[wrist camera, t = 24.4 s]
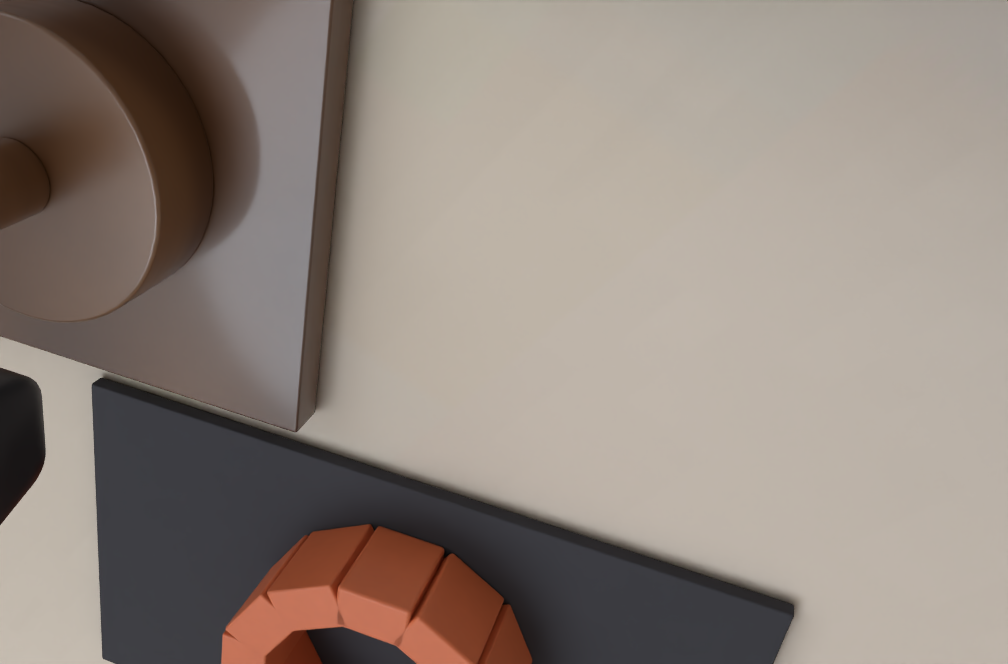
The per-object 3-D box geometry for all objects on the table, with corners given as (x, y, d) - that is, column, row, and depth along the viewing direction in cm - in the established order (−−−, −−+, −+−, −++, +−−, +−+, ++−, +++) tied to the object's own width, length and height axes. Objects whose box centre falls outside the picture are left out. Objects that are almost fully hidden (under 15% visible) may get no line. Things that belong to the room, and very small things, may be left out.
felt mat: (794, 604, 22) (794, 616, 21) (680, 867, 26) (678, 880, 26) (100, 376, 25) (90, 383, 24) (110, 649, 29) (101, 658, 29)
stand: (361, -69, 18) (157, -41, 12) (315, 413, 23) (157, 587, 17) (-127, -180, 20) (-499, -200, 14) (-68, 289, 25) (-322, 411, 19)
